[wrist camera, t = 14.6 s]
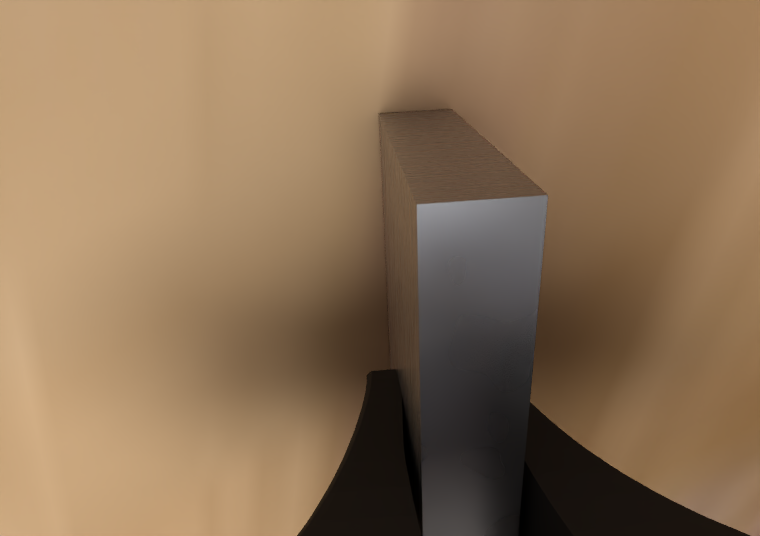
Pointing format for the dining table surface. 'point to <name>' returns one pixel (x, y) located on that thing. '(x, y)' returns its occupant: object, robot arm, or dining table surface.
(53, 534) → the dining table surface
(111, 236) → the dining table surface
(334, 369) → the dining table surface
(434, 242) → the steel block
